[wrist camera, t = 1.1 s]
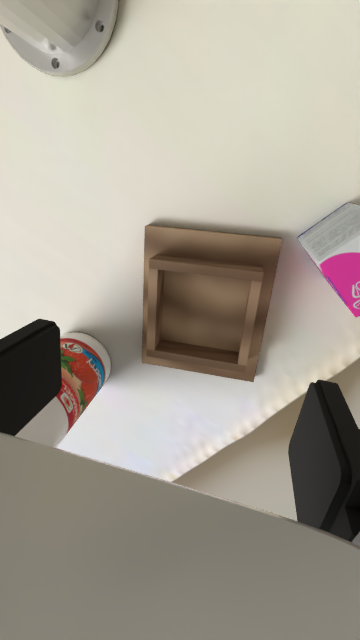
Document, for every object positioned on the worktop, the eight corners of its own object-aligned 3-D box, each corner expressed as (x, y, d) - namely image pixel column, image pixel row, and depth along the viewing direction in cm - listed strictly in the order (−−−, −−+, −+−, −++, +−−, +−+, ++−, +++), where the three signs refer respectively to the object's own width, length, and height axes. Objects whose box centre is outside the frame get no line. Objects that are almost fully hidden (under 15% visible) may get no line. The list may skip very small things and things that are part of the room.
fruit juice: (44, 334, 44) (-226, 523, 19) (101, 326, 42) (-125, 532, 16) (67, 388, 47) (-139, 610, 22) (120, 383, 45) (-43, 629, 20)
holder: (148, 224, 35) (135, 228, 31) (281, 237, 32) (285, 243, 29) (144, 358, 42) (134, 374, 38) (253, 376, 40) (253, 396, 36)
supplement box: (294, 238, 32) (315, 260, 22) (347, 200, 30) (400, 205, 20) (323, 280, 33) (357, 320, 23) (377, 247, 31) (441, 274, 21)
